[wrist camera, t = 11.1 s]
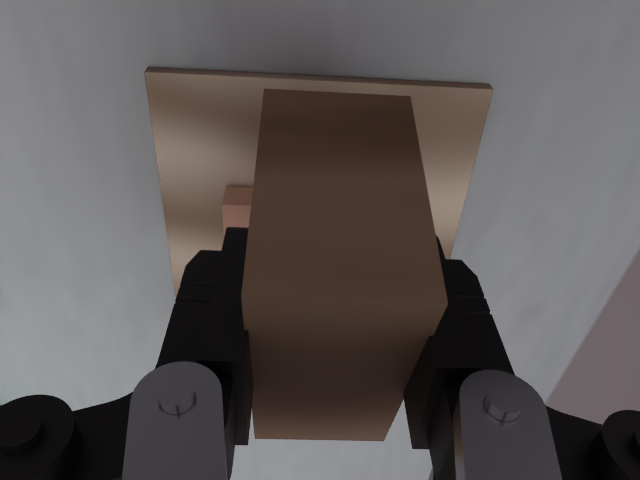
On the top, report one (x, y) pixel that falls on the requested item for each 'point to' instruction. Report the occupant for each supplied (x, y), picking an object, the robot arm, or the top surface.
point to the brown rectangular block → (337, 264)
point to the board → (243, 132)
